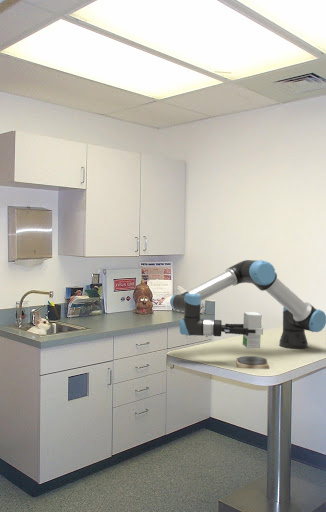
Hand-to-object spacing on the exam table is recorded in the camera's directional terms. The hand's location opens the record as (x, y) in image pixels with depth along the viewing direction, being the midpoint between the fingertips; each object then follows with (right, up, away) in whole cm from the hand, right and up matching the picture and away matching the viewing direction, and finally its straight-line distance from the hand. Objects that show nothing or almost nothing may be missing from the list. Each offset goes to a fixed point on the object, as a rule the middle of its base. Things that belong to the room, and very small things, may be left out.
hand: (262, 329), depth 222 cm
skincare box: (-5, -8, +1) cm, 9 cm away
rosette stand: (-5, -16, +1) cm, 17 cm away
